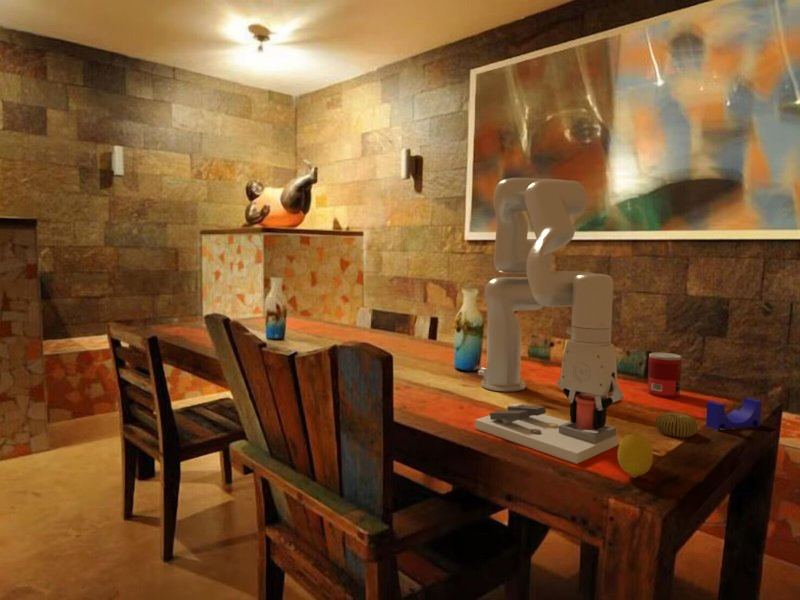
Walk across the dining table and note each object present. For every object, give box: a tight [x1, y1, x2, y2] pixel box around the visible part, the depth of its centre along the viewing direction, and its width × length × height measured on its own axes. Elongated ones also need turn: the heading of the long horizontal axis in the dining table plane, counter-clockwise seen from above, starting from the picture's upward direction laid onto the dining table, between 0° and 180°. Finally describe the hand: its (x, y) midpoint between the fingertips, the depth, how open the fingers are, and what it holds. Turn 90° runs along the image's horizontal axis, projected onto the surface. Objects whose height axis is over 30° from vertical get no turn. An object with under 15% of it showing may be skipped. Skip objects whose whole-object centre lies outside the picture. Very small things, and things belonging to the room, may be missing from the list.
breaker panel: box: [474, 409, 619, 465], centre depth 110 cm, size 25×15×4 cm, turn 40°
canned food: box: [646, 352, 683, 399], centre depth 144 cm, size 8×8×11 cm
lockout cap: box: [575, 394, 597, 430], centre depth 106 cm, size 5×5×6 cm
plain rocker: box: [489, 410, 529, 424], centre depth 112 cm, size 8×3×2 cm, turn 39°
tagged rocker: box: [506, 403, 547, 417], centre depth 116 cm, size 8×3×3 cm, turn 39°
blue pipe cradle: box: [705, 397, 763, 430], centre depth 118 cm, size 12×4×6 cm, turn 106°
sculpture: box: [655, 411, 699, 438], centre depth 113 cm, size 8×4×8 cm
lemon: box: [617, 431, 654, 479], centre depth 90 cm, size 6×6×8 cm
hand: (587, 423), depth 106 cm, fingers closed on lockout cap, 4 cm apart
